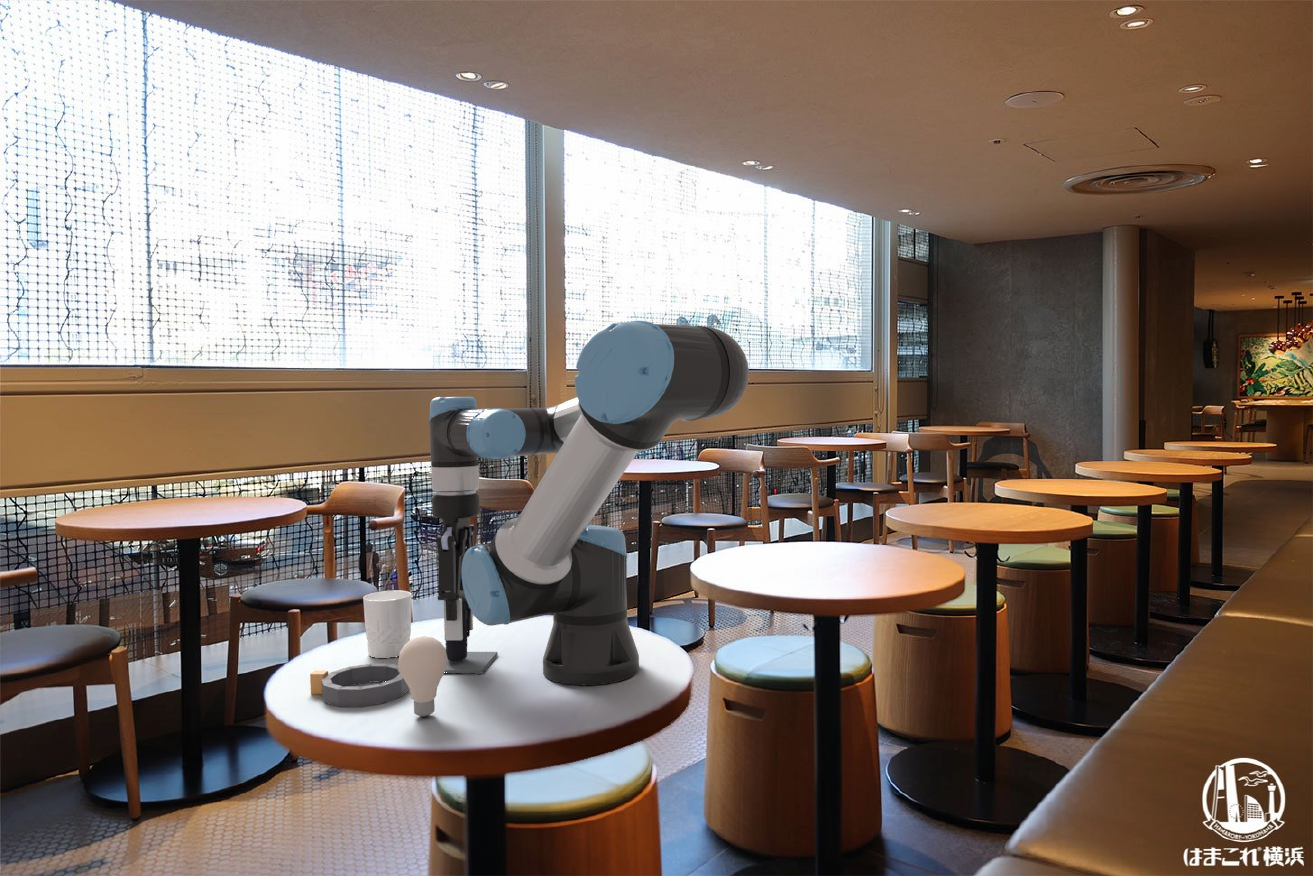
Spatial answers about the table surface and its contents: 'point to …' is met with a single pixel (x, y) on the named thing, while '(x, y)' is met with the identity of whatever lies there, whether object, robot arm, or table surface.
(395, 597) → the white cup
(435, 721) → the table surface
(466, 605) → the two-way radio
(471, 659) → the mat
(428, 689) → the light bulb
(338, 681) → the dock collar
